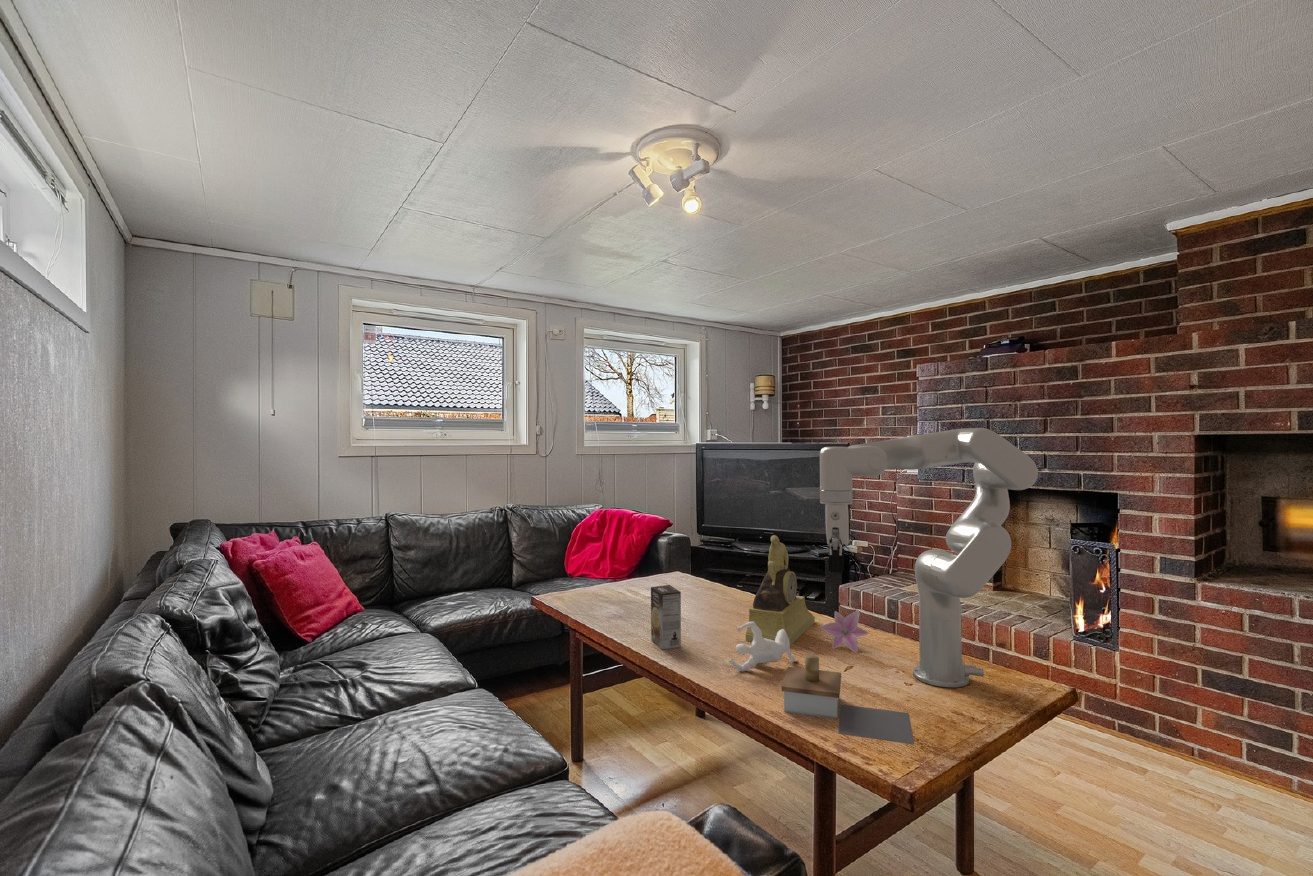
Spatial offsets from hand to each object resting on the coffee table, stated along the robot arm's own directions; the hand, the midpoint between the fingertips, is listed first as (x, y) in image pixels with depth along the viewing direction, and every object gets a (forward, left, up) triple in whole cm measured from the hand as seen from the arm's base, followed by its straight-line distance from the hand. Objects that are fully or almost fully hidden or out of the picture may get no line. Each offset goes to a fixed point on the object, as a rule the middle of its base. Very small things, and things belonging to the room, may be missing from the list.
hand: (836, 567), depth 146 cm
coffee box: (+49, -16, -28) cm, 59 cm away
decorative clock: (+18, -38, -29) cm, 51 cm away
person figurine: (+19, -6, -29) cm, 35 cm away
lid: (+5, +14, -23) cm, 28 cm away
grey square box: (+5, +14, -28) cm, 32 cm away
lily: (-1, -29, -29) cm, 41 cm away
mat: (-8, +19, -28) cm, 35 cm away
